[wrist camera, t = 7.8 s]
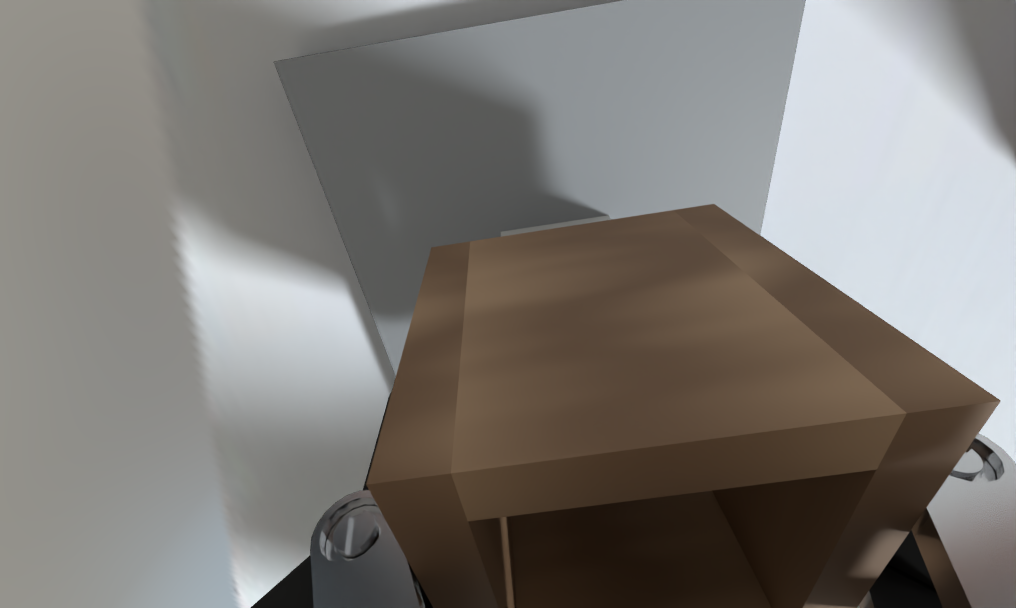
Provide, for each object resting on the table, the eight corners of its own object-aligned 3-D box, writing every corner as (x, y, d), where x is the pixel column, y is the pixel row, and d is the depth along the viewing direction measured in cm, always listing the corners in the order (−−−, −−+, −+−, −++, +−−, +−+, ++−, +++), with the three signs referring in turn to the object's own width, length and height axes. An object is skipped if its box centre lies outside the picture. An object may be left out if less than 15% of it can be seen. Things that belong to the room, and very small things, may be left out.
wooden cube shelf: (713, 203, 9) (1000, 400, 4) (688, 406, 13) (826, 652, 7) (431, 247, 9) (365, 485, 4) (481, 434, 13) (478, 690, 8)
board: (776, -24, 12) (943, -67, 7) (712, 373, 19) (775, 464, 15) (295, 60, 12) (193, 66, 8) (423, 413, 20) (406, 511, 16)
